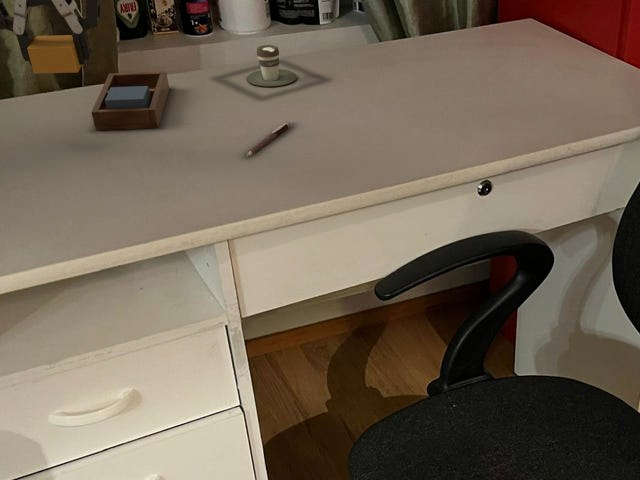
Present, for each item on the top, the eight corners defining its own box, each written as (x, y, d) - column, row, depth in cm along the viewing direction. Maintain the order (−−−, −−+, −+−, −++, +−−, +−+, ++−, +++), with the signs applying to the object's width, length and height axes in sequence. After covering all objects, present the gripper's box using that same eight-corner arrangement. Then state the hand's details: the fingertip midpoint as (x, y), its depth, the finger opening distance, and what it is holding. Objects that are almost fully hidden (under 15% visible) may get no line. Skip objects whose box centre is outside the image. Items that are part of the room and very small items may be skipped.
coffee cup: (280, 61, 141) (276, 30, 138) (325, 80, 134) (323, 48, 131) (216, 78, 134) (210, 45, 131) (260, 99, 127) (256, 65, 124)
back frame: (95, 130, 117) (91, 112, 115) (113, 90, 129) (109, 73, 127) (158, 127, 118) (154, 109, 116) (169, 88, 130) (166, 71, 128)
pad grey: (110, 121, 118) (104, 100, 116) (115, 108, 122) (110, 87, 120) (148, 120, 118) (143, 98, 117) (152, 106, 122) (148, 85, 121)
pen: (286, 126, 120) (286, 119, 119) (292, 127, 120) (291, 120, 119) (244, 158, 111) (243, 150, 111) (250, 159, 111) (249, 151, 111)
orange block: (34, 73, 103) (26, 48, 101) (43, 60, 107) (36, 35, 105) (78, 72, 104) (71, 47, 102) (86, 59, 108) (80, 34, 106)
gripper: (94, -97, 99) (125, 52, 109) (-40, -98, 97) (5, 55, 107) (81, -85, 93) (116, 72, 104) (-62, -86, 91) (-12, 75, 101)
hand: (59, 62), depth 105 cm, fingers closed on orange block, 5 cm apart
